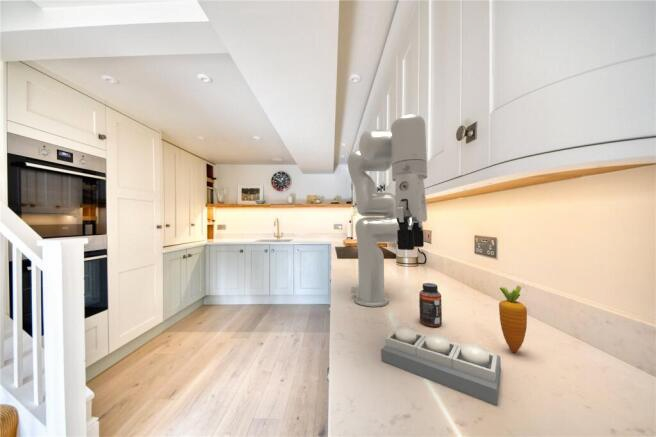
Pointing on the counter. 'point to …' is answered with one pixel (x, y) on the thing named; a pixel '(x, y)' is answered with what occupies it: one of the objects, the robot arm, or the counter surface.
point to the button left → (405, 334)
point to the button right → (475, 354)
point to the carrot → (513, 319)
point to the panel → (445, 367)
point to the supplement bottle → (430, 305)
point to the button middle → (437, 343)
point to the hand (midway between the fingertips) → (411, 248)
